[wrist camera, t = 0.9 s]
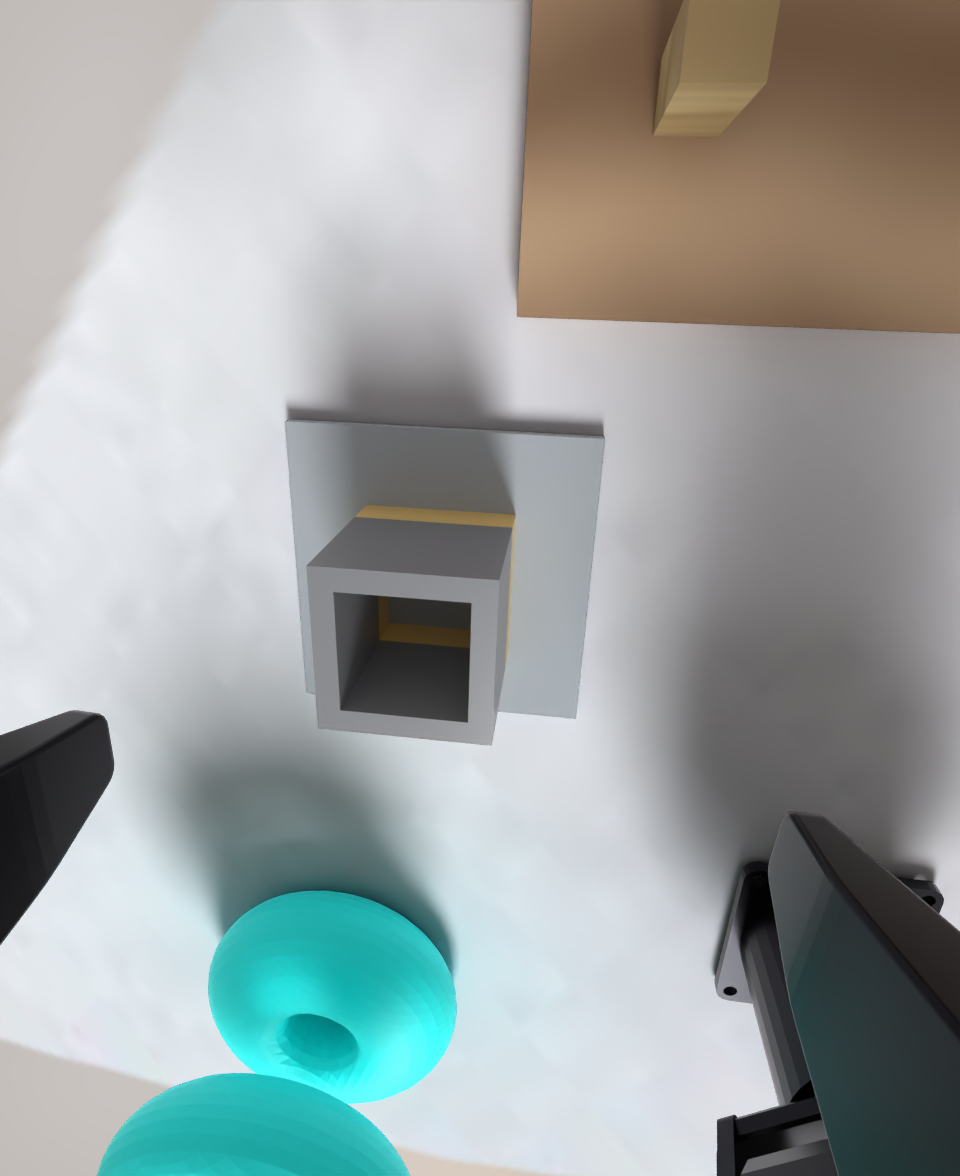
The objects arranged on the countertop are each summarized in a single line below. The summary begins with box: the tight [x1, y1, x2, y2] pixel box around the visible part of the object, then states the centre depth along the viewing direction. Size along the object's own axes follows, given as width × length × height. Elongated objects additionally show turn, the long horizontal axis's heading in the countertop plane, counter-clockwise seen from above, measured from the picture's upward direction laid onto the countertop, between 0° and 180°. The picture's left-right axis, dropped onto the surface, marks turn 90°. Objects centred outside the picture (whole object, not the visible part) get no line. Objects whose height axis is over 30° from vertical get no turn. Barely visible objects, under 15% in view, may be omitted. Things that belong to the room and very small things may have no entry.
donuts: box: [97, 891, 457, 1176], centre depth 24 cm, size 10×10×10 cm
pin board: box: [517, 0, 960, 334], centre depth 12 cm, size 9×16×6 cm, turn 88°
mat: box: [285, 419, 605, 719], centre depth 21 cm, size 9×9×1 cm
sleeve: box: [306, 505, 516, 746], centre depth 18 cm, size 4×4×5 cm
